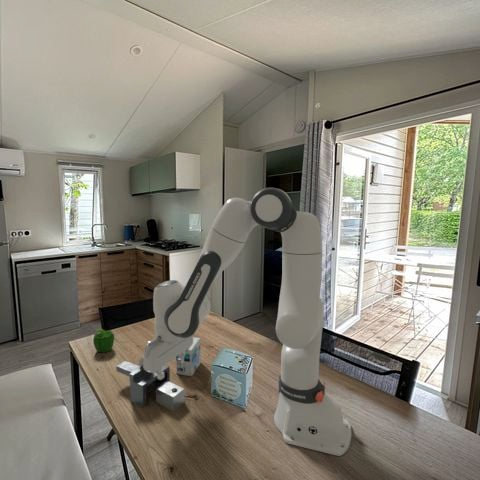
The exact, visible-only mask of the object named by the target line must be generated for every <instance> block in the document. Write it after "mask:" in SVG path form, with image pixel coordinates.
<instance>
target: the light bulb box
mask: <svg viewBox="0 0 480 480" xmlns="http://www.w3.org/2000/svg"><path fill="white" fill-rule="evenodd" d="M201 338H202V337H194V336H193V344H192V346H191V347H189V348H188V349H186V353H185V356H184V363H182V364H181V365H179V364H177V359H178V357H179V355H178V356H177V357H175V358H176V359H175V362H176V367H175V369H176V374H177V375H183V376H189V377H192V376H193V375H194V374H195V373H196V371H197V369H198V368H199V366H200V364H201V363H202V357H201V356H202V354H201V353H202V346H201V345H202V343H201V342H202V341H201Z"/></svg>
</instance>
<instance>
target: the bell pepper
mask: <svg viewBox="0 0 480 480" xmlns="http://www.w3.org/2000/svg"><path fill="white" fill-rule="evenodd" d="M96 332H97V333H95V334H94V335H93V341H92V342H93V346H94V349H95V350H96V351H97V352H98V353H102V352H103V353H107V352H110V351H112V349H113V346H114V343H115V335H114V333H113V331H112V330H111V329H110V330H104V329H102V328H100V329H99V328H98V329H97V330H96Z"/></svg>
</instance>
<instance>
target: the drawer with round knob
mask: <svg viewBox="0 0 480 480" xmlns="http://www.w3.org/2000/svg"><path fill="white" fill-rule="evenodd" d="M143 360H144V355H143V356H141V357H140V359H139V361H138V365H137V364H134V363H132V362H129V361H127V360H124V361H123V362H121V363H119V364H118V365H116V366H115V367H116V372H118V373H121V374H123V375H125V376H126V377H129V388H130V389H129V391H130V403H132V404H134V405H137V406H139V407H141V408H145V407H146V406H147V394H148V393H150V392H151V391H152V390H154V389H156V388H157V386H158V387H159V386H160V385H161V384H163V383H164V382H166V381H169V382H171V380H170V379H171V374H170V365H169V366H168V365H167V364H165V365H164V366H162V370H161V372H164V374H165V375H164V376H165V377H164V378H163V379H161V380H159V379H158V378H157V373H156V372H154V373H151V372H148V371H146V370H144V368H143Z"/></svg>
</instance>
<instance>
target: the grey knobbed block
mask: <svg viewBox="0 0 480 480" xmlns="http://www.w3.org/2000/svg"><path fill="white" fill-rule="evenodd" d="M155 400H156V403H158V404H160V405H161V406H163V407H165V408H167V409H168V410H170V411H172V412H174V411H175V410H177V409H178V408H179V407H180V406H181V405H183V404H184V403H185V388H184V387H182V386H179V385H177V384H176V383H173V382H171V381H170V382H169V381H166V382H164V383H163V384H161V385H158V387H157V386H156V387H155Z"/></svg>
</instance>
